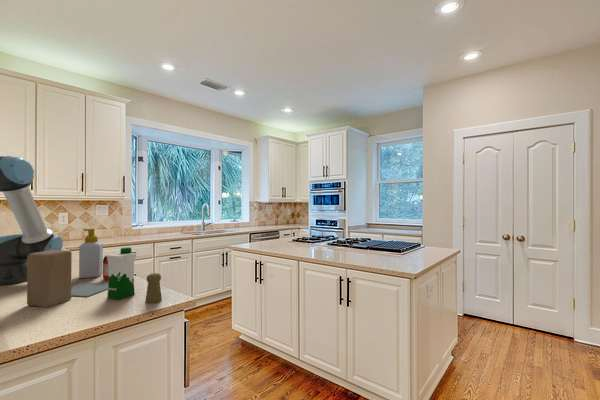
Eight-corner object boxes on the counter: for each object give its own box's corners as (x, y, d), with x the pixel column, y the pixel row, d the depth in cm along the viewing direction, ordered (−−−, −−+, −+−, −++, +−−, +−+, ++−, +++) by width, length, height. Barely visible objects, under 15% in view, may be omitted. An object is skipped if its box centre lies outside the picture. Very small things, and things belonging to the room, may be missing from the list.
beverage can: (120, 277, 153) (120, 254, 153) (111, 280, 147) (111, 256, 147) (109, 277, 153) (109, 254, 153) (99, 280, 147) (100, 256, 147)
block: (46, 308, 109) (47, 254, 109) (25, 306, 111) (26, 253, 111) (72, 299, 119) (72, 250, 119) (52, 297, 121) (53, 249, 121)
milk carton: (138, 294, 125) (138, 248, 125) (118, 301, 117) (119, 251, 117) (123, 292, 128) (123, 246, 128) (103, 298, 120) (103, 250, 120)
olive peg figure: (145, 304, 113) (145, 276, 113) (145, 299, 119) (145, 272, 119) (162, 302, 116) (162, 274, 116) (161, 297, 121) (161, 271, 121)
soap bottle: (83, 274, 157) (83, 228, 157) (102, 273, 161) (103, 227, 161) (78, 279, 149) (78, 230, 149) (99, 277, 153) (99, 229, 153)
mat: (86, 283, 142) (86, 282, 142) (119, 284, 139) (119, 283, 139) (50, 294, 124) (50, 293, 124) (87, 297, 121) (87, 295, 121)
